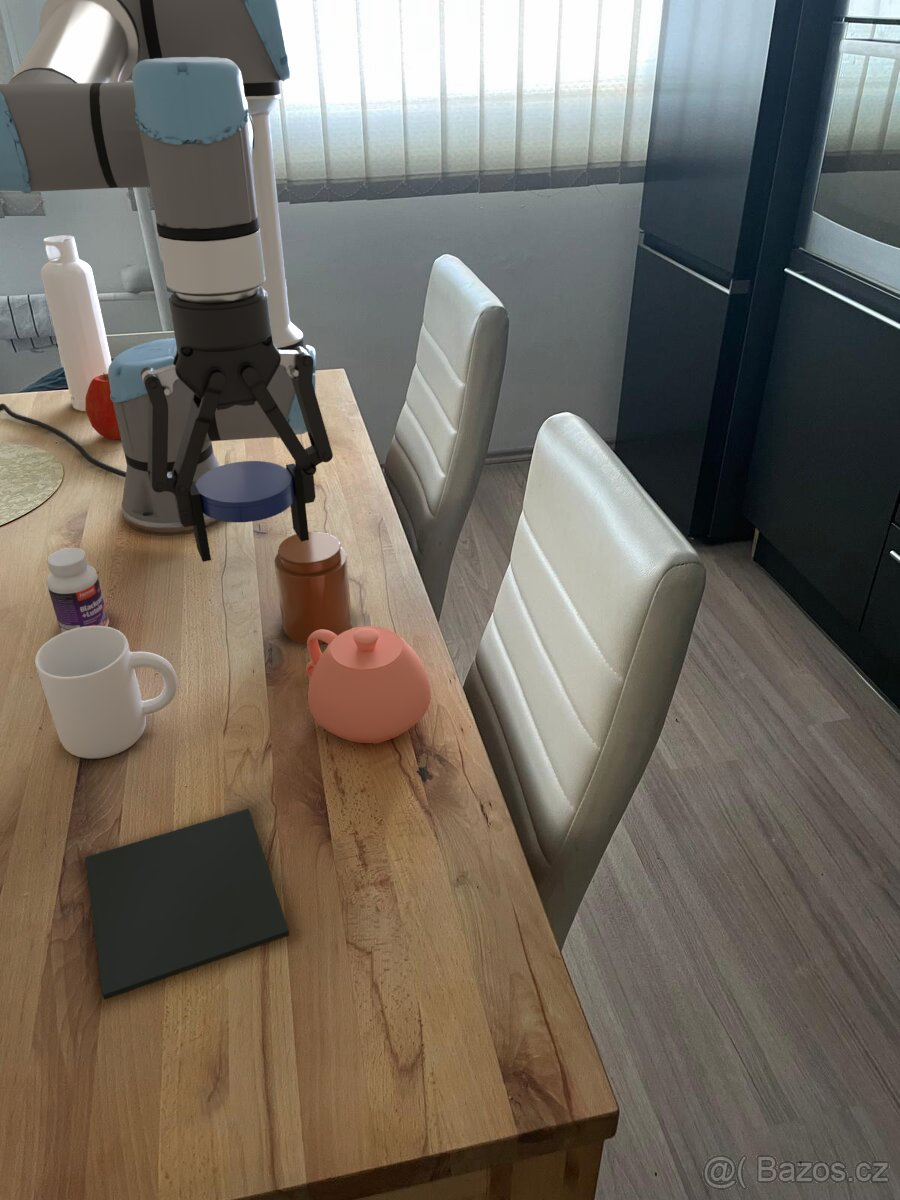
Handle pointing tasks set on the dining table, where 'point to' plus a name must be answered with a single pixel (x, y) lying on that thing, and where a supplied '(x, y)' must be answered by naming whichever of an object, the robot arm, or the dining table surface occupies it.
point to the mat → (181, 902)
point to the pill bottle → (75, 590)
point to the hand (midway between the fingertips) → (253, 543)
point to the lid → (246, 491)
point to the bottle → (75, 316)
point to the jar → (313, 586)
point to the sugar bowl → (366, 684)
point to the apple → (102, 408)
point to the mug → (98, 690)
